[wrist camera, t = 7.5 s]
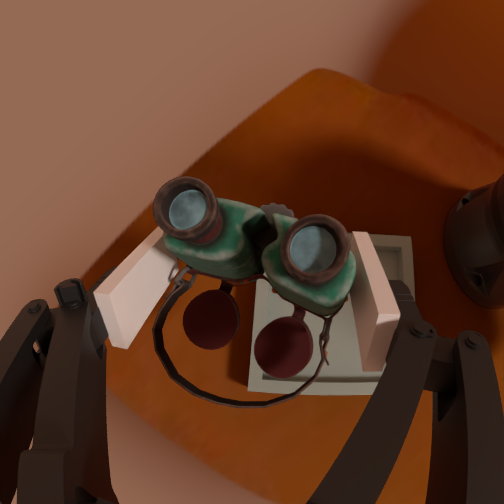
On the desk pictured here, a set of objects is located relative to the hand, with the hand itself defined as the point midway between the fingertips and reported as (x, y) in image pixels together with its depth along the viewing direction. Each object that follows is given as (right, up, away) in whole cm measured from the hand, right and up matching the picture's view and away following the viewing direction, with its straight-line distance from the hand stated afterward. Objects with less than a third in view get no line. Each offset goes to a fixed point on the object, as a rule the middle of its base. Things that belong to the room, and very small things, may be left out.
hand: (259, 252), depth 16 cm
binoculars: (0, -4, +3) cm, 5 cm away
